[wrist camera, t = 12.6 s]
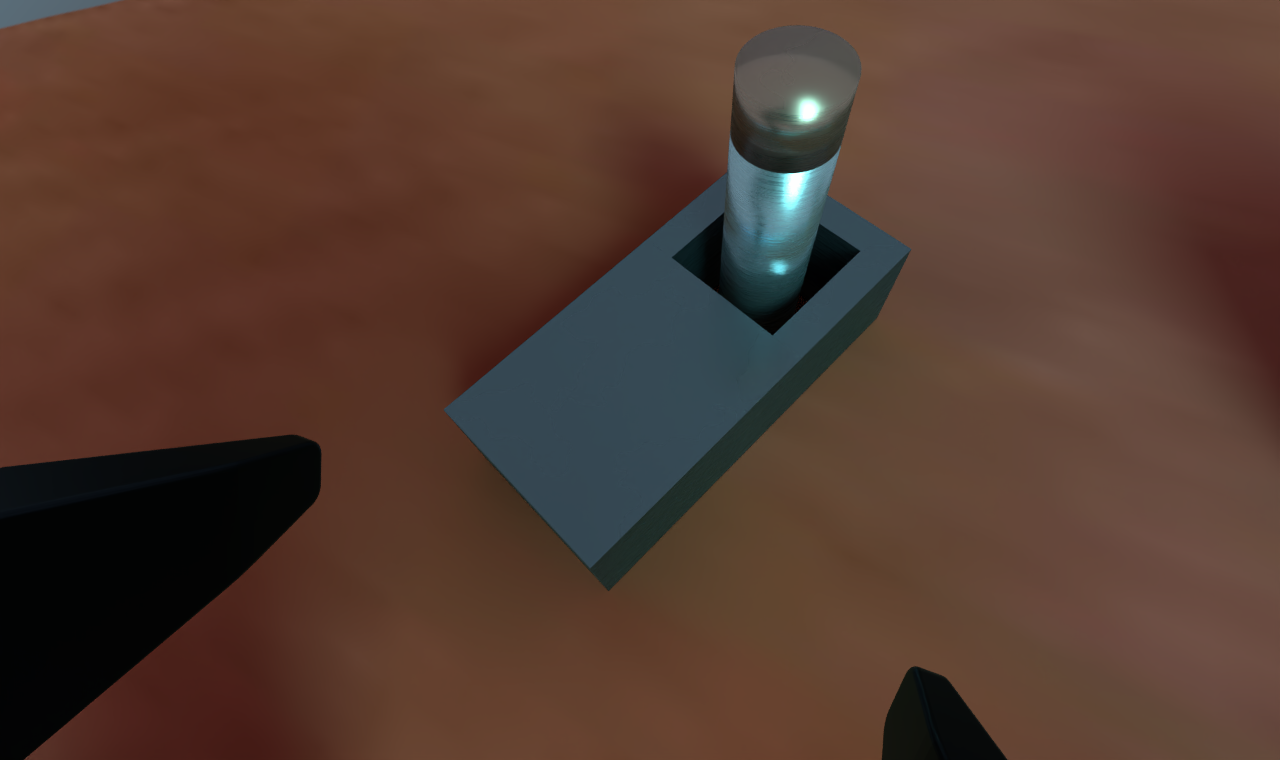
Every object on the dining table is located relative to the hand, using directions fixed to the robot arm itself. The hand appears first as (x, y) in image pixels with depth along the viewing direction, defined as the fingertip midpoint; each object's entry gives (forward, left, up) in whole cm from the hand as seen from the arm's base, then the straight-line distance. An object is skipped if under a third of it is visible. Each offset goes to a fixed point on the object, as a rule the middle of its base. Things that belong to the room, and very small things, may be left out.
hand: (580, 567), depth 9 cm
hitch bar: (+8, +5, -14) cm, 17 cm away
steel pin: (+12, +5, -14) cm, 19 cm away
